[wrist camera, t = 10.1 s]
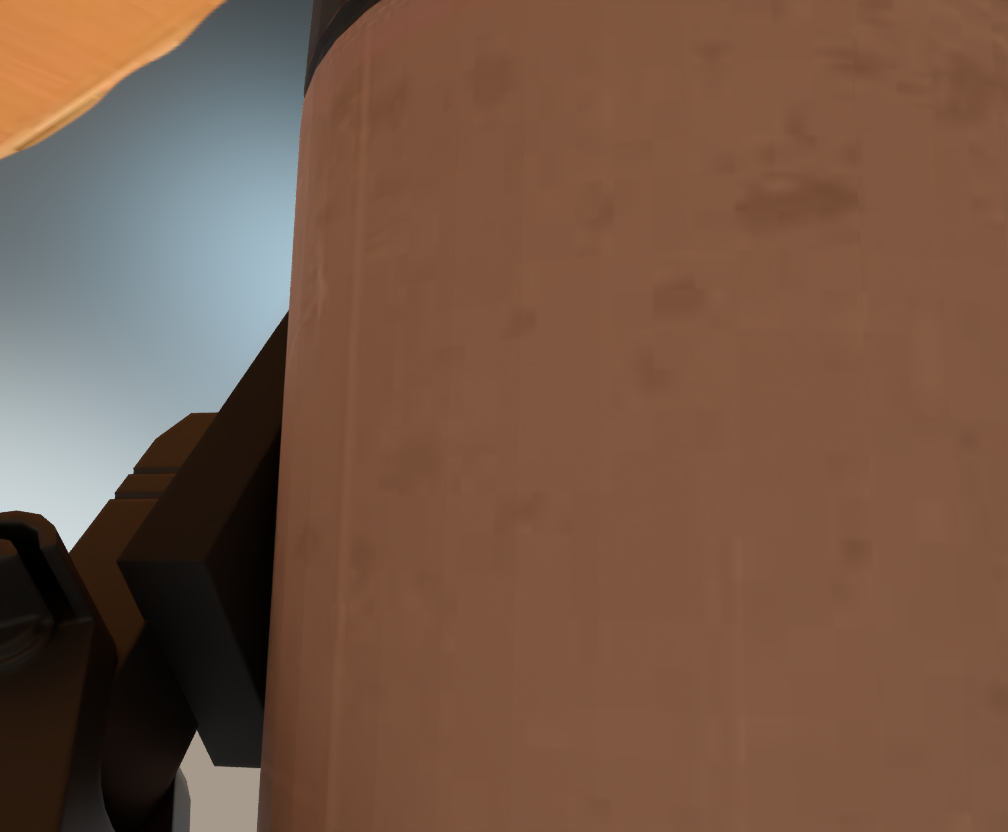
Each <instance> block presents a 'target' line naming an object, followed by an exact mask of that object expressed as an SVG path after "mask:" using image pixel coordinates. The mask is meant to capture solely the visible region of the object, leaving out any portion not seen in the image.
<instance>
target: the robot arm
mask: <svg viewBox="0 0 1008 832" xmlns="http://www.w3.org/2000/svg"><path fill="white" fill-rule="evenodd" d="M288 319H289V311H288V312H287V314H286V315H285V316H284V318H283V319H282V321H281V322H280V324H279V325H278V326H277V328H276V329H275V331H274V332H273V334H272V335H271V337H270V338H269V340H268V341H267V343H266V344H265V345H264V347H263V348H262V350H261V351H260V353H259V354H258V356H257V357H256V358H255V360H254V361H253V363H252V364H251V366H250V367H249V369H248V370H247V372H246V373H245V375H244V376H243V377H242V379H241V380H240V382H239V383H238V385H237V386H236V388H235V389H234V390H233V392H232V393H231V395H230V396H229V398H228V399H227V401H226V402H225V404H224V405H223V406H222V408H221V409H220V411H219V412H218V413H191V414H189V415H188V416H187V417H185V418H184V419H183V420H181V421H180V422H178V423H177V424H176V425H174V426H173V427H171V428H170V429H169V430H168V431H166V432H165V433H163V434H162V435H160V436H159V437H158V438H156V439H155V440H154V442H153V443H152V444H151V446H150V447H149V448H148V450H147V451H146V453H145V454H144V455H143V456H142V458H141V459H140V460H139V462H138V463H137V464H136V466H135V467H134V468H133V469H134V473H133V474H129V475H128V476H127V477H126V479H125V480H124V481H123V483H122V484H121V485H120V487H119V488H118V489H117V491H116V492H115V499H110V500H109V501H108V502H107V504H106V505H105V506H104V508H103V509H102V510H101V512H100V513H99V514H98V516H97V517H96V518H95V520H94V521H93V522H92V523H91V525H90V526H89V528H88V529H87V530H86V531H85V533H84V534H83V535H82V537H81V538H80V539H79V541H78V542H77V543H76V545H75V546H74V547H73V548H72V550H71V551H70V552H69V553H68V551H67V549H66V547H65V545H64V543H63V542H62V540H61V538H60V536H59V534H58V532H57V530H56V528H55V526H54V525H53V524H51V523H50V522H49V521H48V520H47V519H45V518H44V517H43V516H42V515H40V514H35V513H29V512H23V511H9V512H2V513H0V832H189V830H190V828H189V827H190V795H189V791H188V786H187V781H186V779H185V777H184V775H183V773H182V771H181V769H180V767H179V766H180V764H181V762H182V760H183V758H184V756H185V753H186V751H187V749H188V747H189V745H190V743H191V741H192V739H193V737H194V735H195V732H196V730H197V731H198V733H199V735H200V737H201V739H202V741H203V744H204V745H205V748H206V750H207V752H208V754H209V756H210V758H211V760H212V762H213V764H214V766H225V767H247V768H261V756H262V740H263V724H264V707H265V691H266V675H267V659H268V643H269V627H270V610H271V594H272V578H273V562H274V546H275V530H276V513H277V497H278V481H279V465H280V449H281V433H282V416H283V400H284V384H285V368H286V352H287V336H288Z"/></svg>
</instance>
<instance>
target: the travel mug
mask: <svg viewBox="0 0 1008 832" xmlns="http://www.w3.org/2000/svg"><path fill="white" fill-rule="evenodd" d="M257 832H1008V0H314V2H313V11H312V20H311V30H310V39H309V48H308V58H307V67H306V77H305V86H304V104H303V111H302V120H301V129H300V142H299V159H298V174H297V190H296V206H295V223H294V239H293V255H292V272H291V287H290V305H289V319H288V336H287V352H286V368H285V384H284V400H283V416H282V433H281V449H280V465H279V481H278V497H277V513H276V530H275V546H274V562H273V578H272V594H271V610H270V627H269V643H268V659H267V675H266V691H265V707H264V724H263V740H262V756H261V773H260V789H259V805H258V821H257Z"/></svg>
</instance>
